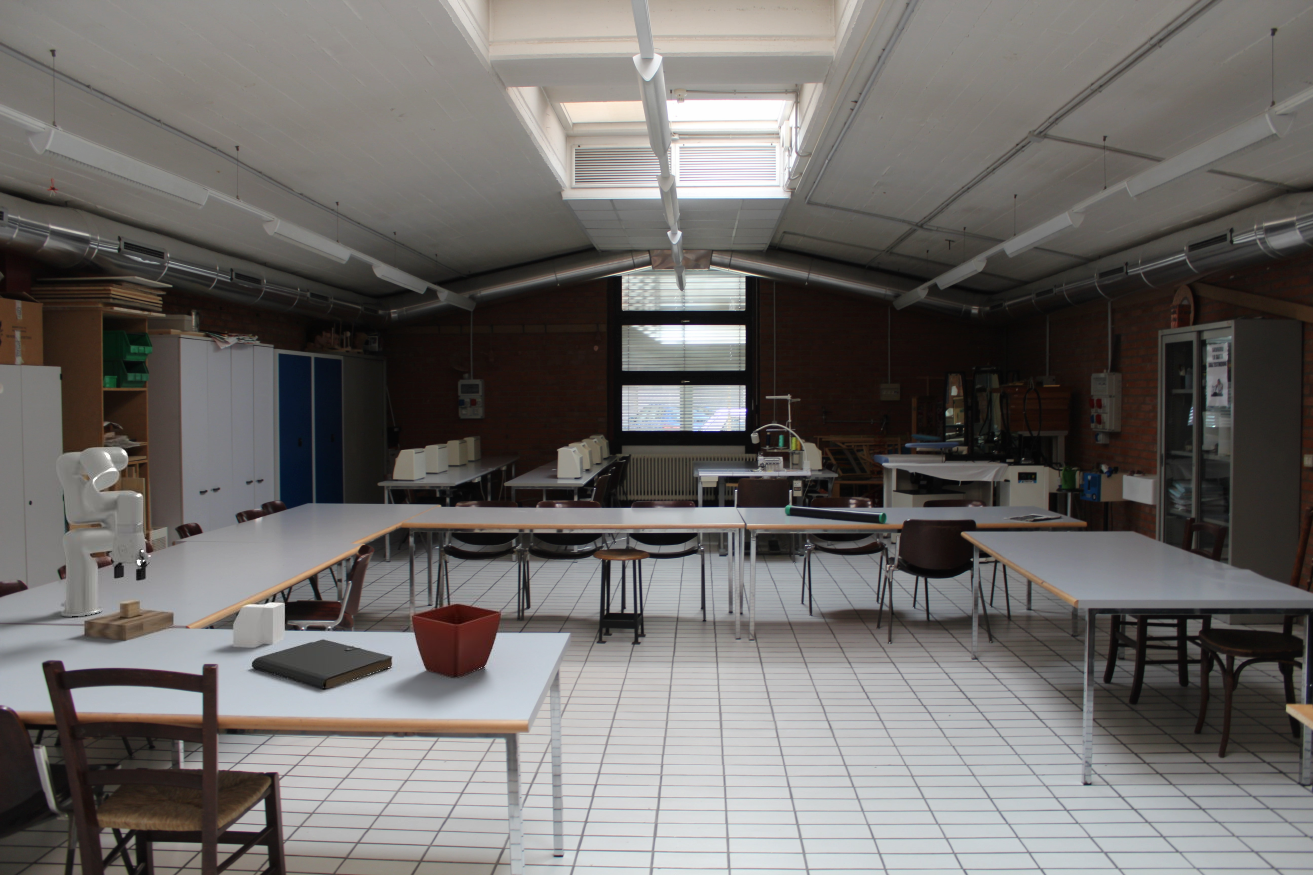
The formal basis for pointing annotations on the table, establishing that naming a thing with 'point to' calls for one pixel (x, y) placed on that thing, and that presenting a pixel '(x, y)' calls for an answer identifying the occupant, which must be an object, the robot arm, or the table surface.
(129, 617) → the peg
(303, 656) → the dark grey book
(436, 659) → the plant pot
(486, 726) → the table surface
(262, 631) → the corner bracket
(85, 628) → the board
